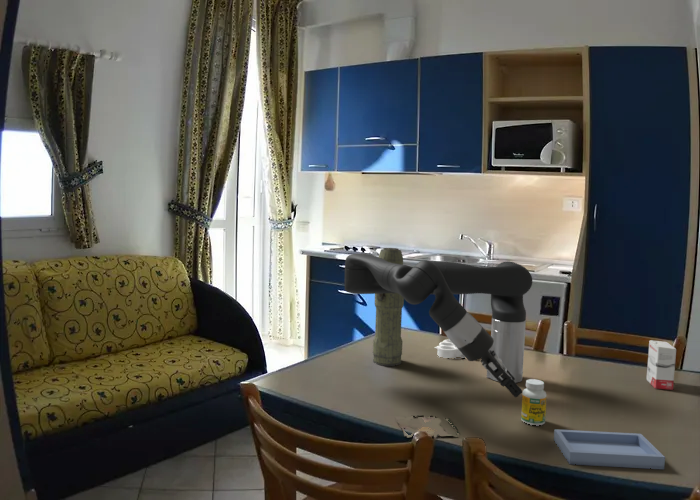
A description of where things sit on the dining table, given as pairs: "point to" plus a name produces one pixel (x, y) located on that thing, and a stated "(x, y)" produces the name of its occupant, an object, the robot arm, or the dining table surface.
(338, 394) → the dining table surface
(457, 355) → the white holder with holes
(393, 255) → the thermos
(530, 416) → the supplement bottle
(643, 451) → the tray
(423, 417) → the parchment
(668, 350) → the ink box
